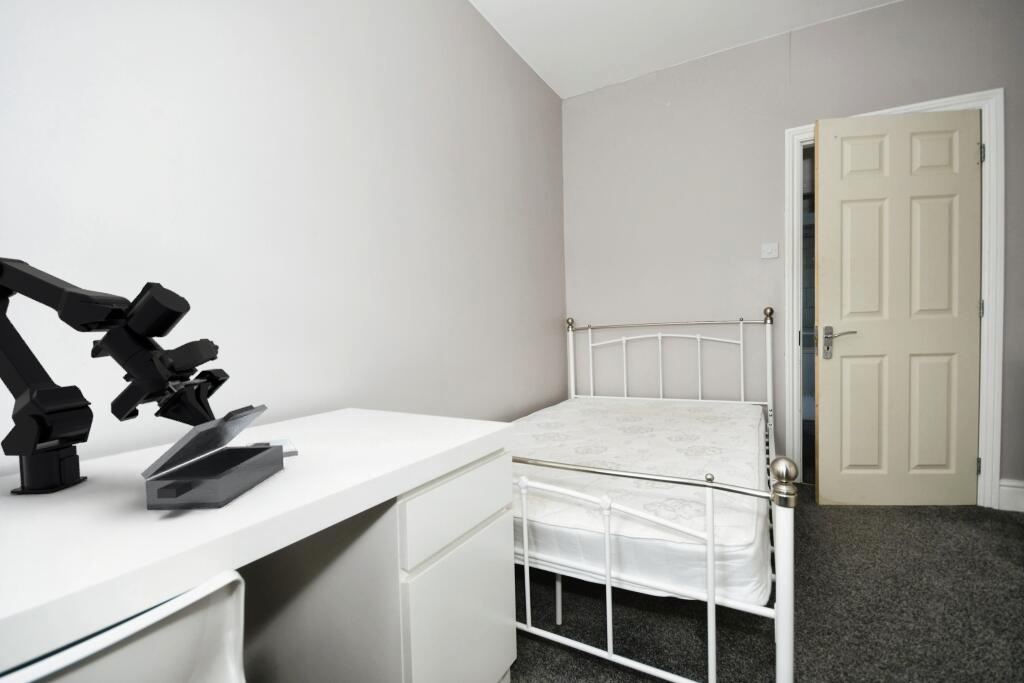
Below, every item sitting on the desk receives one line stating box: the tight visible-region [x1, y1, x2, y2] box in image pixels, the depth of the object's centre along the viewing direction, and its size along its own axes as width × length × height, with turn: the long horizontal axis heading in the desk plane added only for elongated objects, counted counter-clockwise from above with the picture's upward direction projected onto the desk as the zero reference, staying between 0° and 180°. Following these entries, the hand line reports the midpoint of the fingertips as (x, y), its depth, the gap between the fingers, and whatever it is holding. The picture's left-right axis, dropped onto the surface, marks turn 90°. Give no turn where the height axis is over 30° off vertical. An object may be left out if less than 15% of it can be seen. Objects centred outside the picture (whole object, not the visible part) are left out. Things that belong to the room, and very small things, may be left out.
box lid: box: [140, 403, 268, 481], centre depth 73 cm, size 12×18×2 cm
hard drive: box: [245, 437, 299, 459], centre depth 93 cm, size 2×8×12 cm
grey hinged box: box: [145, 442, 284, 511], centre depth 73 cm, size 10×24×4 cm, turn 0°
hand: (215, 429), depth 73 cm, fingers closed, pressing on box lid
